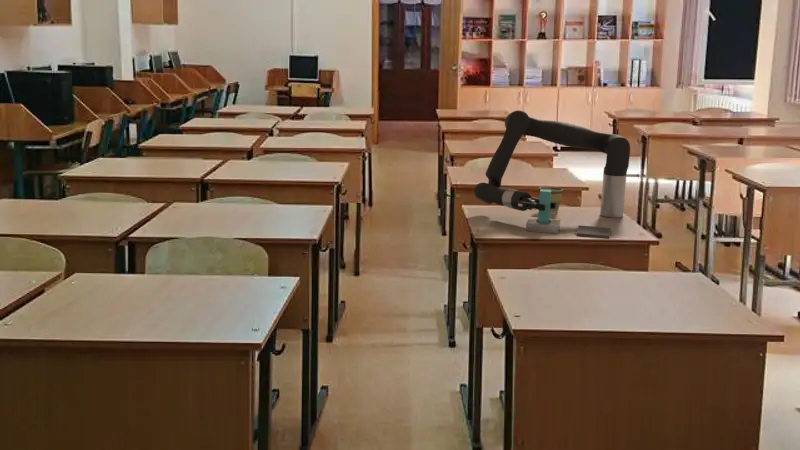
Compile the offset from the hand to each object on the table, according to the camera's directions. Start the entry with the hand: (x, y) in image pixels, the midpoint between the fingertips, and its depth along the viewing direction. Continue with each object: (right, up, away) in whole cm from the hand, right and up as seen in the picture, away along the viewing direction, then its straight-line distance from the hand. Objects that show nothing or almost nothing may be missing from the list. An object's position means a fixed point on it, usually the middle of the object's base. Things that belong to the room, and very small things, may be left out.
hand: (549, 207), depth 354 cm
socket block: (-2, -8, +4) cm, 9 cm away
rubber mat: (+16, -10, 0) cm, 19 cm away
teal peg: (-2, -8, +4) cm, 9 cm away
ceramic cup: (+6, -1, +37) cm, 38 cm away
